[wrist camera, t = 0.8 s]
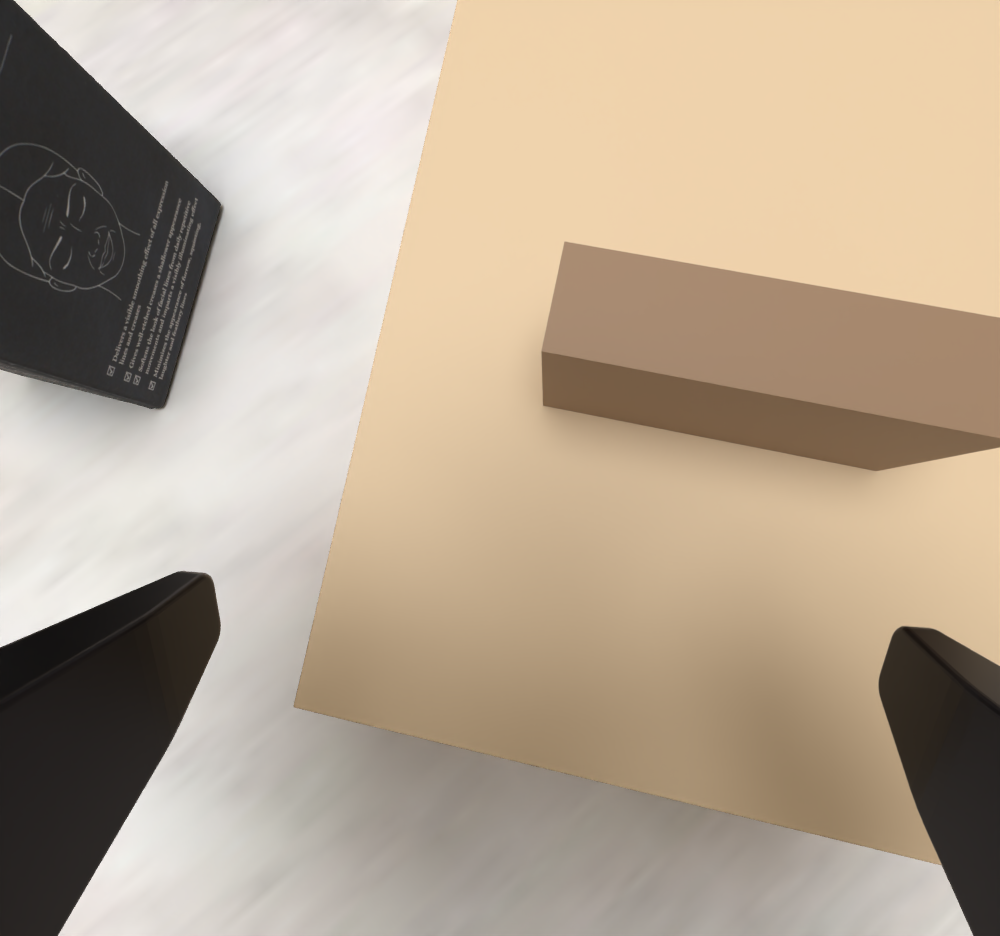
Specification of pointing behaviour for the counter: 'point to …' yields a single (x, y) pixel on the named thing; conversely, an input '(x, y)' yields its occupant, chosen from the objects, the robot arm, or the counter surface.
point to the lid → (683, 401)
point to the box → (90, 229)
